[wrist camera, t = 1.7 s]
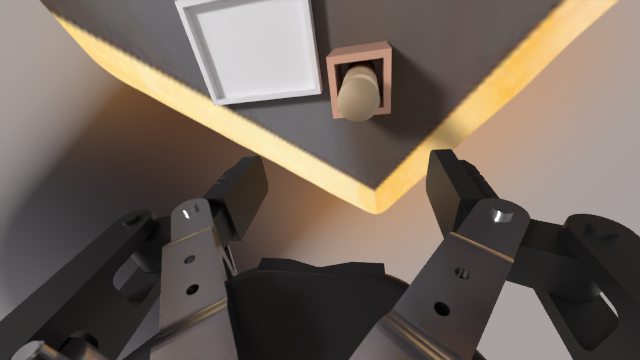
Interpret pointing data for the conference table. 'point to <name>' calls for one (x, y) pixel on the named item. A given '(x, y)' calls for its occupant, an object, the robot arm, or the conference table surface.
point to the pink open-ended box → (372, 51)
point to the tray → (253, 48)
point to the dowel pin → (359, 92)
